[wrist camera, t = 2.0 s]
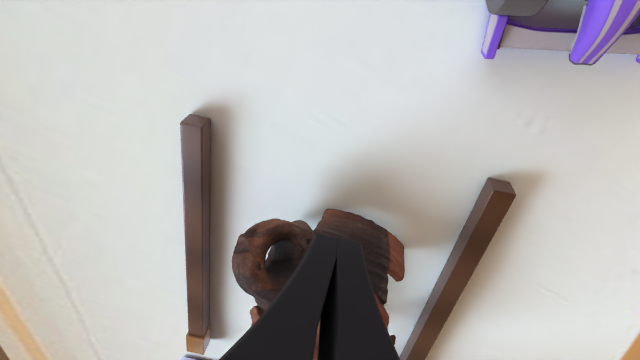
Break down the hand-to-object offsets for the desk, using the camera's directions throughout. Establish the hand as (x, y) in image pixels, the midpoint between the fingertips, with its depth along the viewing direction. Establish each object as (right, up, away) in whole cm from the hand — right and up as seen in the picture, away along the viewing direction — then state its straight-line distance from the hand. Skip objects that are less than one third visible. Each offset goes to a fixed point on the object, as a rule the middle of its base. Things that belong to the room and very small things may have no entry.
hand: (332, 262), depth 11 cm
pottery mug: (0, -2, +14) cm, 14 cm away
